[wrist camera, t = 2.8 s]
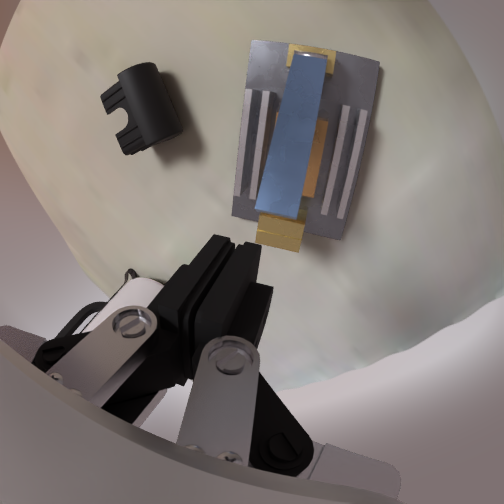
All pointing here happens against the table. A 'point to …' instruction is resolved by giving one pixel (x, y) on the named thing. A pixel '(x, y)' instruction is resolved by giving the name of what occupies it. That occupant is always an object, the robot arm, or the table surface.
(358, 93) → the block
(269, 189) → the strap
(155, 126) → the end cap
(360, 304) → the table surface
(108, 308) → the coffee press
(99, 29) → the table surface
